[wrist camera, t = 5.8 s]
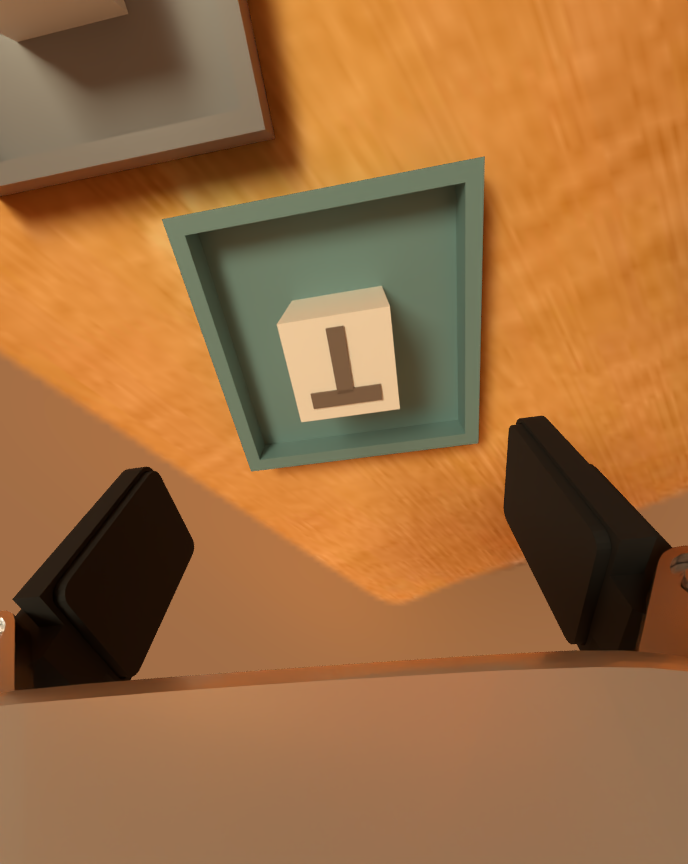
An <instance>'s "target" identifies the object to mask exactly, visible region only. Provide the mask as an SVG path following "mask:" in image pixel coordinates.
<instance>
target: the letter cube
mask: <svg viewBox="0 0 688 864" xmlns="http://www.w3.org/2000/svg"><path fill="white" fill-rule="evenodd" d="M277 327H278V331H279V335H280V339H281V343H282V347H283V351H284V355H285V359H286V363H287V367H288V371H289V375H290V379H291V383H292V387H293V391H294V395H295V399H296V403H297V407H298V411H299V415H300V419H301V422H307V421H315V420H322V419H330V418H337V417H344V416H352V415H359V414H367V413H374V412H381V411H389V410H396V409H400V405H399V394H398V384H397V374H396V364H395V353H394V343H393V333H392V323H391V312H390V305H389V303H388V300H387V298H386V295H385V293H384V290H383V288H382V286H377V287H371V288H365V289H359V290H353V291H347V292H341V293H335V294H329V295H323V296H317V297H311V298H305V299H299V300H293V301H291V303H290V305H289V306H288V308H287V309H286V311H285V312H284V314H283V315H282V317H281V319H280V320H279V322H278V323H277Z"/></svg>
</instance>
